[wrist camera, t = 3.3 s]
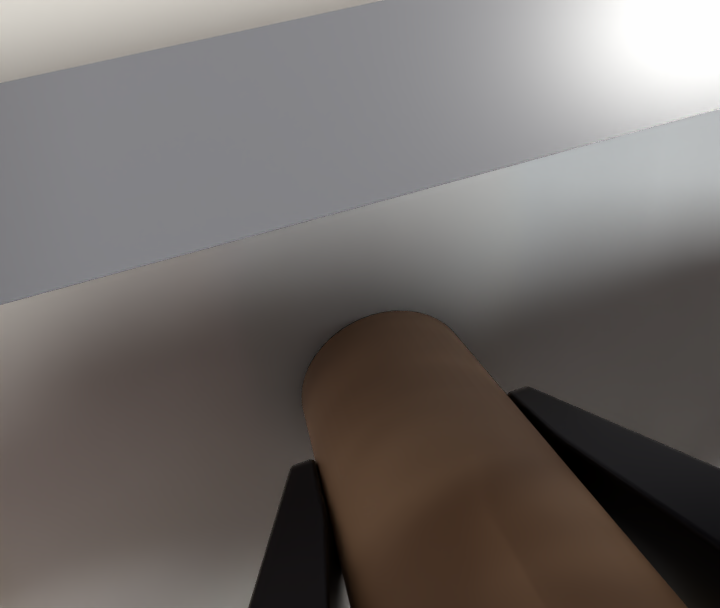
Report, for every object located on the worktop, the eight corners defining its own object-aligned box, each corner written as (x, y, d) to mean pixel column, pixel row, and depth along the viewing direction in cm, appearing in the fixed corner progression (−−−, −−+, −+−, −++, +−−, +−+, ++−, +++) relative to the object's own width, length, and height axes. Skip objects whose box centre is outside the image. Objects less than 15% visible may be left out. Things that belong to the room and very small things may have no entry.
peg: (458, 288, 9) (1128, 937, 2) (472, 423, 11) (894, 1032, 4) (280, 342, 9) (496, 1324, 2) (323, 475, 11) (521, 1254, 4)
